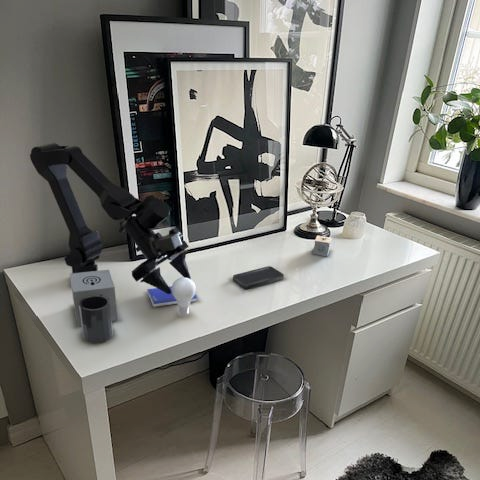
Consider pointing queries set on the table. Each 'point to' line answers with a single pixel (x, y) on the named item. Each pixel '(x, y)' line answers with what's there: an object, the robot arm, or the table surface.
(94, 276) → the icon cube
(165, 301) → the hard drive
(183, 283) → the lightbulb
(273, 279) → the phone
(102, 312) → the pen cup
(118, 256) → the table surface
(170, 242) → the robot arm
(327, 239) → the dice cube
